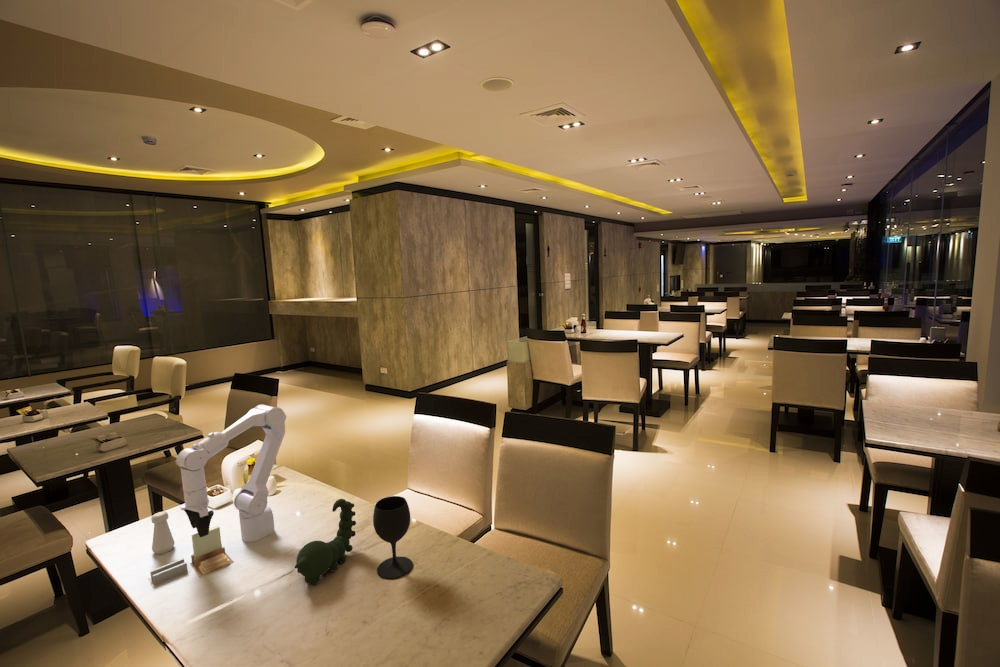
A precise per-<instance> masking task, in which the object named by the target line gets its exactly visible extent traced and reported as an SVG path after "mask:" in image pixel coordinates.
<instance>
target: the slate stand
mask: <svg viewBox="0 0 1000 667" xmlns="http://www.w3.org/2000/svg"><path fill="white" fill-rule="evenodd" d="M149 573H150V577H149V578H148V581H149V583H150V585H151V587H152V588H155V587H158V586H160V585H163V584H164V583H167V582H170V581H172V580H174V579H177V578H179V577H182V576H184V575H186V574H189V573H191V570H190V568H189V567H188V564H187V561H185V559H184V558H180V559H177V560H175V561H172V562H169V563H168V564H165V565H162V566H159V567H156V568H154V569H151V570H150V572H149Z"/></svg>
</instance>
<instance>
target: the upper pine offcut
mask: <svg viewBox="0 0 1000 667" xmlns="http://www.w3.org/2000/svg"><path fill="white" fill-rule="evenodd" d="M225 561H227V557H226V556H225V554H224V553H222V554H219V555H217V556H215V557H212V558H210V559H207V560H205V561H202V562H201V566H202V568H203V569H204V570H206V569H209V568H211V567H214V566H216V565H218V564H221V563H223V562H225Z"/></svg>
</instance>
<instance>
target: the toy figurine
mask: <svg viewBox="0 0 1000 667" xmlns="http://www.w3.org/2000/svg"><path fill="white" fill-rule="evenodd" d="M354 507H355V504H354V502H353V503H352V502H351V501H347V500H346V499H344V498H339V499H337V500H335V502H334V503H333V506H332V512H334V513H335V512H336V511H337V509H338V508H340V513H339V519H340V520H339V521H338V530H337V531H336V535H335V537H334V538H333V540H329V541H328V542H325V541H322V540H313V541H310V542H308V543H305V545H303V546H302V548H301V549H300V550H299V552H298V554H297V557H296V562H295V563H296V564H295V565H294V569H297V574H300V575H301V576H302V577H304V583H306V584H307V585H309V586H315V585H317V584H318V583H319V582H320V580H321V576H323V575H324V574H325V573H326V572H327V571H332V572H334V571H335V572H336V570H338V568H339V563H340V564H344V563H345V562H346V560H347V557H346V555H345V554H346V552H347V553H351V552H352V551H353V548H354V547H353V545H351V544H350V542H351V541H350V540H351V538H352V537H355V536H356V535H357V534H356V530H353V529H352V528H353V526H356V525H357V521H356V520H353V518H354V516H356V511H355V510H353V508H354Z"/></svg>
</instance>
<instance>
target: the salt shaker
mask: <svg viewBox="0 0 1000 667" xmlns="http://www.w3.org/2000/svg"><path fill="white" fill-rule="evenodd" d="M168 519H169V514H168V512H167V511H159V512H156V513H154V514H153V515H152V516H151V523H152V524H154V525H153V537H152V544H151V550H152V552H153V554H155V555H162V554H166V553H168V552H170V551H172V550H173V548H174V546H175V540H174V538H173V535H172V531H171V529H170V525H169V523H168V521H167V520H168Z"/></svg>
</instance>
